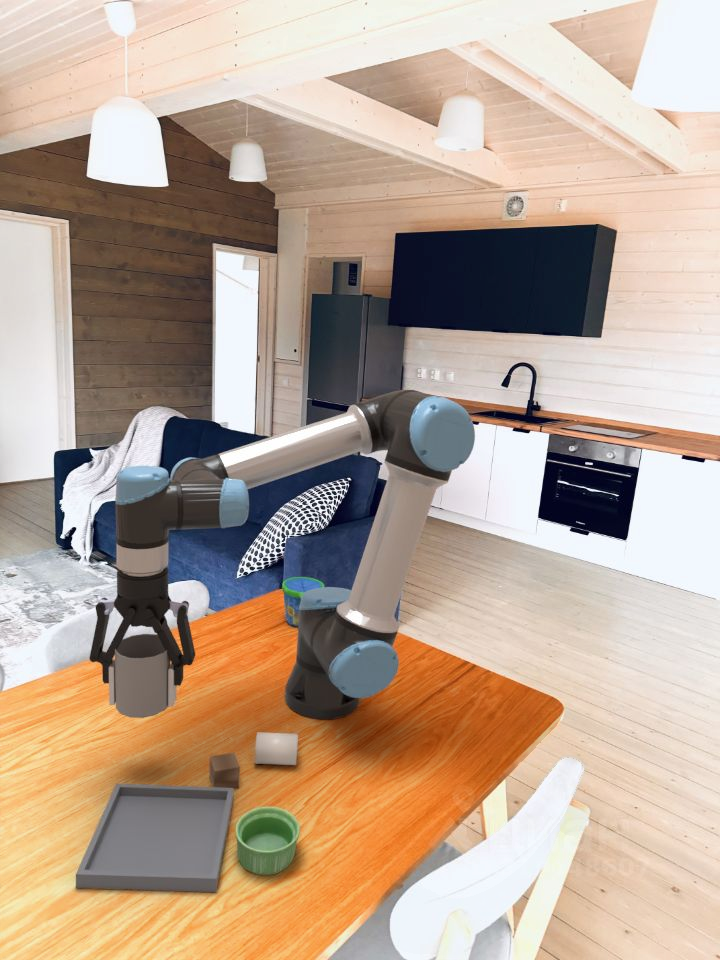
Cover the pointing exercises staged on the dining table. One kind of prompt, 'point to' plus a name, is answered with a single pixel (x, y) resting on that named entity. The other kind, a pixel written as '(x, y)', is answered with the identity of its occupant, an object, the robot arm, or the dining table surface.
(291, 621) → the snack cup
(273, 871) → the ramekin
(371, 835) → the dining table surface
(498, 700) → the dining table surface
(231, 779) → the walnut block
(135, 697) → the cup
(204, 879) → the tray
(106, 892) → the dining table surface
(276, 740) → the canister
